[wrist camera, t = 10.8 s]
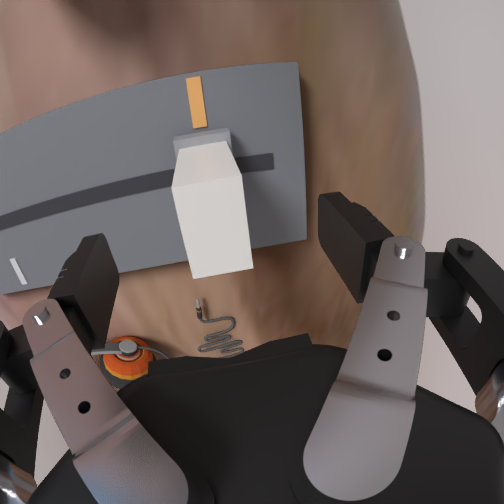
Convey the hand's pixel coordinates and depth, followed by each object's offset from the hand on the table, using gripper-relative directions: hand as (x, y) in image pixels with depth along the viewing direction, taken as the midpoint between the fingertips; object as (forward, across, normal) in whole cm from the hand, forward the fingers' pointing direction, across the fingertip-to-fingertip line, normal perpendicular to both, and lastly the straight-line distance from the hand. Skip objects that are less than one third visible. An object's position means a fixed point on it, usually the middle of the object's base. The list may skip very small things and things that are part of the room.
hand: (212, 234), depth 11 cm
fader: (+8, 0, 0) cm, 8 cm away
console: (+10, +8, 0) cm, 13 cm away
